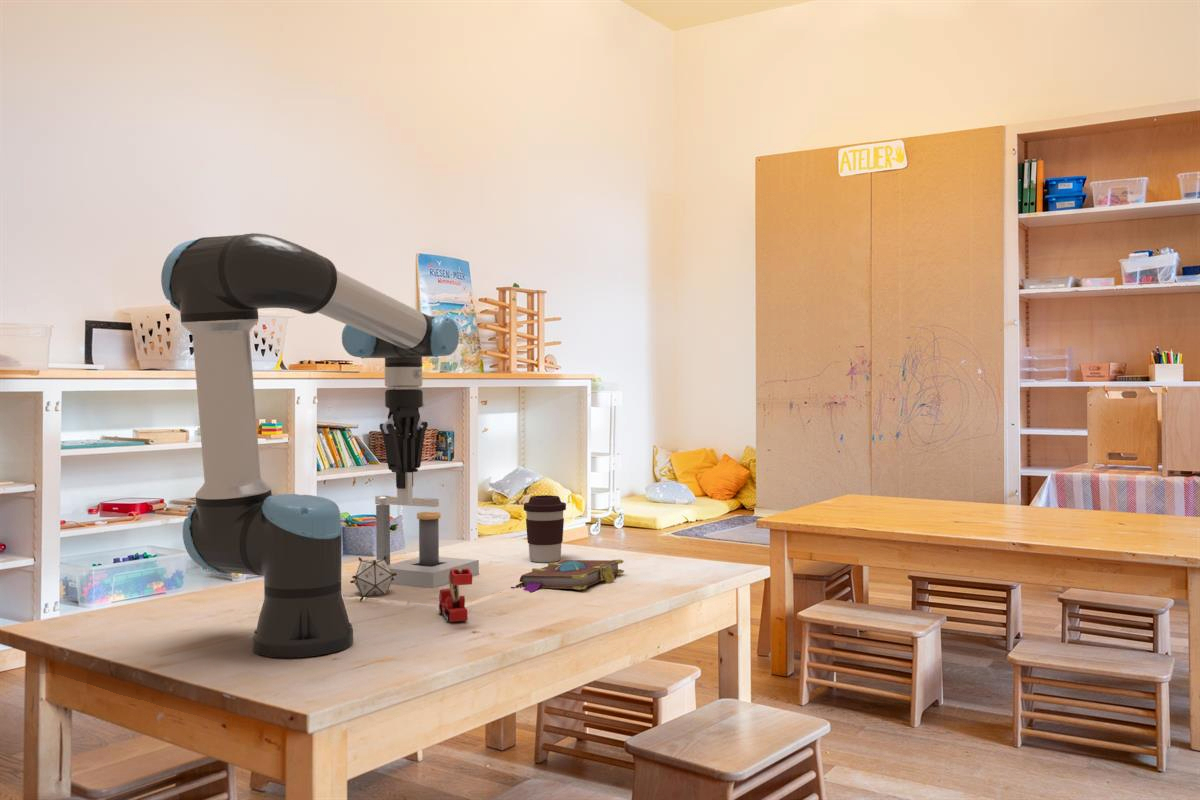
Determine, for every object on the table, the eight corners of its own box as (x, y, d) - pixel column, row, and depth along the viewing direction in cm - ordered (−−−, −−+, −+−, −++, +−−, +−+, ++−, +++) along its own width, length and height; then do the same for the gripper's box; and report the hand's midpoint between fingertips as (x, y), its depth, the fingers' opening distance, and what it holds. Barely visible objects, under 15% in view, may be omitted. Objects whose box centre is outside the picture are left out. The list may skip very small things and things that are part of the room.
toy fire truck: (455, 610, 180) (455, 557, 180) (473, 627, 167) (472, 570, 167) (437, 612, 179) (436, 559, 179) (453, 629, 166) (453, 572, 166)
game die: (379, 619, 190) (382, 583, 184) (340, 602, 191) (342, 566, 185) (402, 589, 197) (406, 553, 191) (365, 572, 198) (367, 537, 192)
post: (385, 581, 208) (384, 506, 208) (366, 579, 210) (365, 505, 210) (400, 577, 213) (399, 504, 213) (381, 575, 215) (381, 503, 215)
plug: (431, 581, 203) (431, 515, 203) (412, 579, 205) (412, 514, 205) (445, 577, 207) (445, 512, 207) (426, 575, 209) (426, 511, 209)
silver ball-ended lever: (431, 507, 204) (431, 500, 204) (372, 503, 211) (371, 496, 211) (441, 505, 207) (440, 498, 207) (381, 502, 214) (381, 495, 214)
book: (507, 596, 198) (506, 571, 198) (563, 575, 220) (562, 553, 220) (580, 599, 191) (579, 573, 191) (631, 577, 213) (629, 554, 213)
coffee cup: (570, 563, 229) (569, 498, 229) (527, 565, 227) (527, 499, 226) (561, 556, 239) (561, 493, 238) (521, 557, 236) (520, 495, 236)
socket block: (433, 592, 196) (433, 572, 196) (377, 586, 202) (377, 567, 202) (478, 578, 210) (478, 560, 210) (425, 573, 216) (425, 555, 216)
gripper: (398, 388, 194) (399, 508, 194) (438, 388, 205) (439, 501, 206) (368, 388, 197) (369, 507, 197) (409, 388, 209) (410, 500, 209)
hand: (404, 504), depth 201 cm, fingers closed
